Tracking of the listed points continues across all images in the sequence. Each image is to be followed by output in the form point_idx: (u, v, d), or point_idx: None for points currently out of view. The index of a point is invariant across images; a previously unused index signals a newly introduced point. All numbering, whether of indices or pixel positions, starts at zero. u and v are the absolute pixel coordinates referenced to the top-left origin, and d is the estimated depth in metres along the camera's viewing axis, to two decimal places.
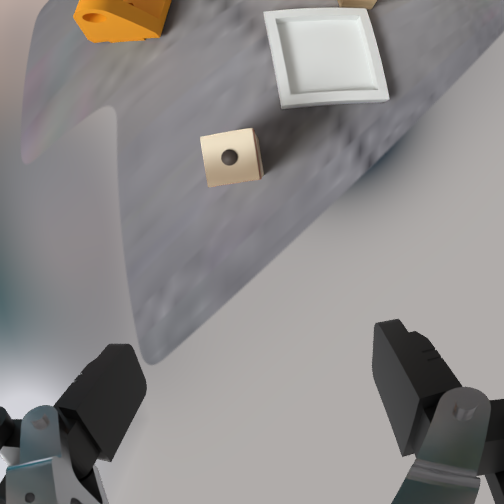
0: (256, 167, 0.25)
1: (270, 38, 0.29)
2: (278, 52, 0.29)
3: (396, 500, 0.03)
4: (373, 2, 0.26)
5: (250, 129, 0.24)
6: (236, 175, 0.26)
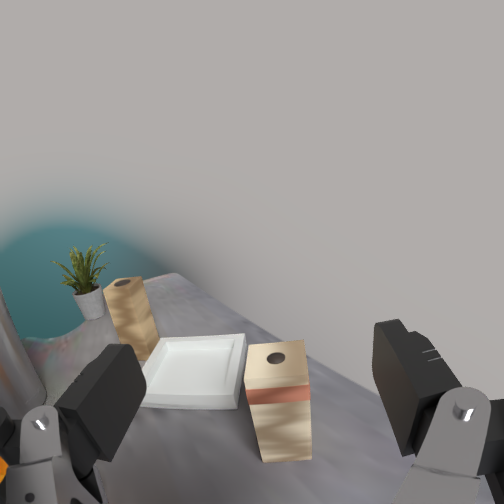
0: (291, 341, 0.24)
1: (158, 393, 0.31)
2: (176, 390, 0.32)
3: (396, 500, 0.03)
4: (157, 334, 0.46)
5: (250, 345, 0.24)
6: (297, 353, 0.22)
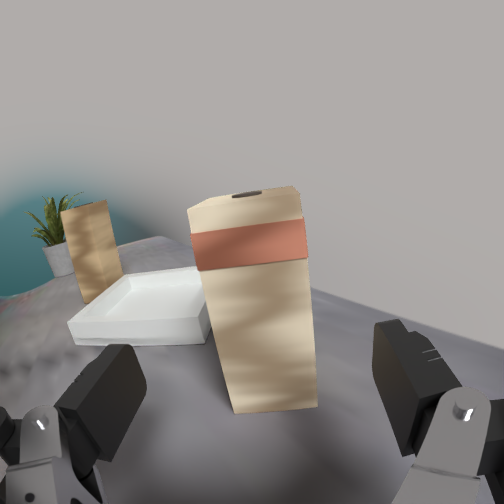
0: None
1: (101, 320, 0.23)
2: (124, 317, 0.24)
3: (396, 500, 0.03)
4: (121, 273, 0.38)
5: None
6: (281, 189, 0.14)
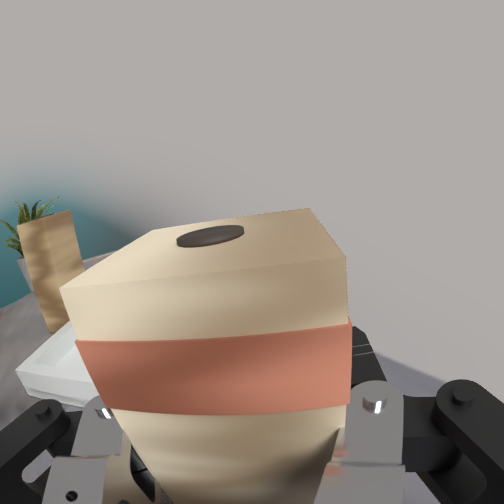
0: (270, 213, 0.08)
1: (49, 375, 0.16)
2: (75, 373, 0.16)
3: (319, 497, 0.03)
4: None
5: (155, 230, 0.09)
6: (289, 223, 0.06)
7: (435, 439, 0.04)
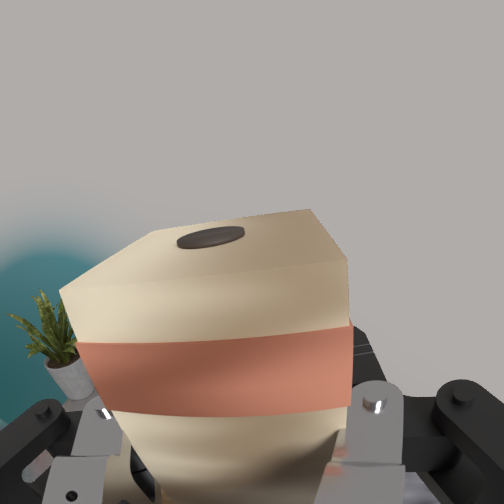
0: (271, 214, 0.08)
1: None
2: None
3: (319, 497, 0.03)
4: None
5: (155, 231, 0.09)
6: (290, 225, 0.06)
7: (435, 439, 0.04)
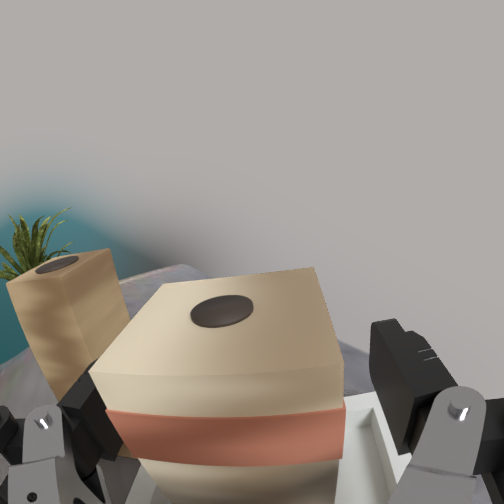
0: (277, 272, 0.09)
1: None
2: None
3: (392, 500, 0.03)
4: None
5: (165, 285, 0.09)
6: (295, 297, 0.07)
7: None
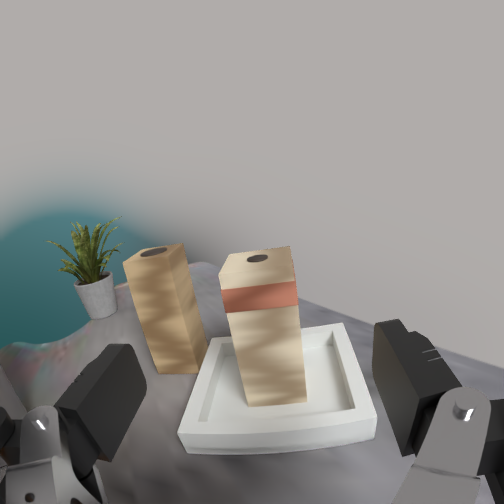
0: (275, 248, 0.22)
1: (237, 432, 0.17)
2: (270, 424, 0.17)
3: (396, 500, 0.03)
4: (203, 333, 0.31)
5: (230, 254, 0.23)
6: (281, 254, 0.21)
7: None
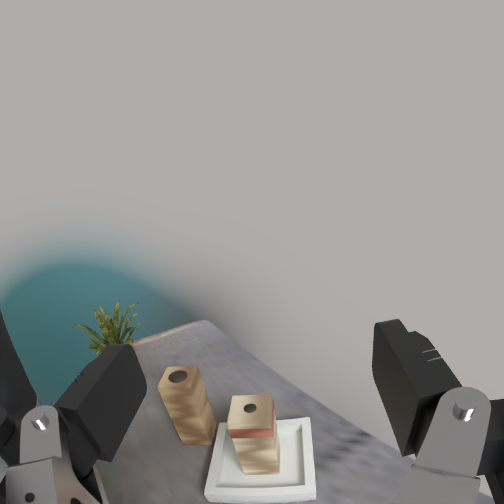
0: (262, 395, 0.32)
1: (238, 494, 0.27)
2: (256, 490, 0.27)
3: (396, 500, 0.03)
4: (213, 416, 0.41)
5: (233, 396, 0.32)
6: (265, 405, 0.30)
7: None
